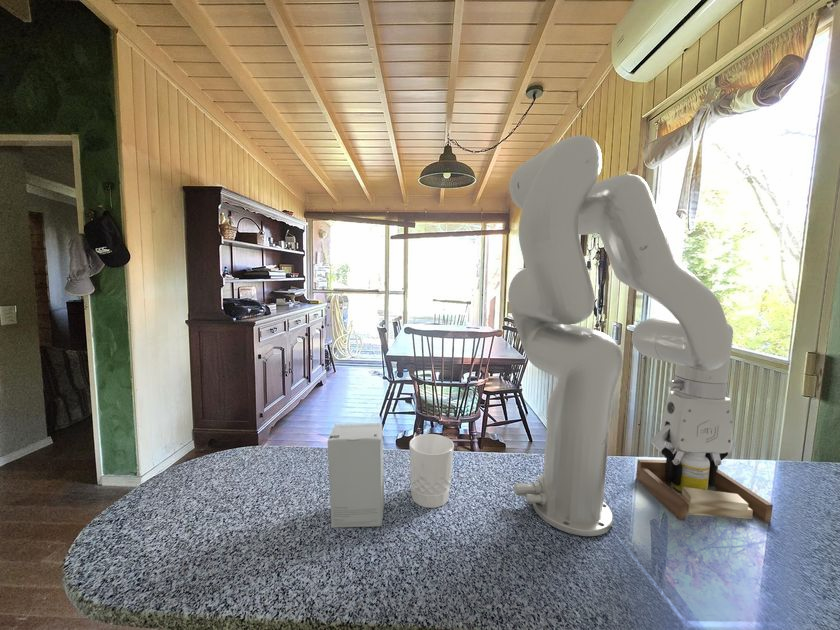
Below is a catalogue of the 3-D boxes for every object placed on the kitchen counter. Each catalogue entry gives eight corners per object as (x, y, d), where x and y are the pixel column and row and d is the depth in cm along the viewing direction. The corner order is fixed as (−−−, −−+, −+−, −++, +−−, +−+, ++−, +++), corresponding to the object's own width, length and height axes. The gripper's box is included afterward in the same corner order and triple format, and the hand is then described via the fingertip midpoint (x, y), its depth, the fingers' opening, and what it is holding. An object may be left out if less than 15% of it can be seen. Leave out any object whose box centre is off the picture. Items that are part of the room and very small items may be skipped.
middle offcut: (688, 512, 60) (689, 505, 60) (677, 501, 63) (678, 494, 63) (752, 517, 59) (752, 510, 59) (737, 506, 62) (738, 499, 62)
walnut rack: (678, 522, 59) (681, 496, 58) (635, 480, 71) (637, 459, 70) (770, 524, 59) (773, 499, 58) (711, 483, 71) (714, 461, 70)
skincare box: (384, 505, 61) (385, 422, 60) (381, 529, 55) (383, 438, 54) (335, 505, 61) (335, 421, 59) (327, 529, 55) (327, 437, 53)
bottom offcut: (683, 520, 60) (684, 513, 60) (671, 508, 63) (671, 501, 63) (751, 524, 60) (752, 517, 59) (736, 512, 63) (737, 505, 63)
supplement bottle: (673, 482, 71) (678, 434, 70) (708, 494, 67) (714, 444, 66) (667, 492, 67) (672, 443, 66) (703, 506, 63) (710, 453, 62)
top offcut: (690, 503, 61) (691, 496, 61) (681, 493, 63) (682, 486, 63) (747, 511, 59) (748, 504, 59) (736, 501, 62) (737, 493, 62)
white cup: (449, 514, 59) (451, 457, 58) (403, 506, 61) (404, 451, 60) (454, 487, 67) (456, 436, 66) (413, 481, 69) (414, 431, 68)
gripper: (665, 393, 61) (656, 492, 63) (766, 395, 61) (753, 495, 63) (639, 380, 69) (631, 469, 70) (729, 382, 68) (718, 472, 70)
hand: (689, 480), depth 67 cm, fingers closed on supplement bottle, 5 cm apart
